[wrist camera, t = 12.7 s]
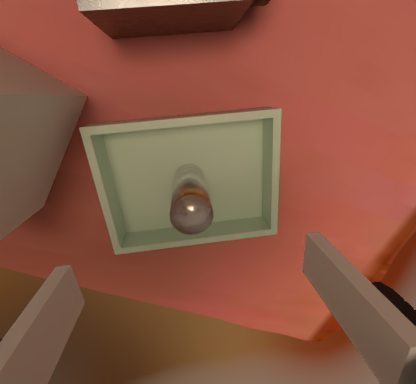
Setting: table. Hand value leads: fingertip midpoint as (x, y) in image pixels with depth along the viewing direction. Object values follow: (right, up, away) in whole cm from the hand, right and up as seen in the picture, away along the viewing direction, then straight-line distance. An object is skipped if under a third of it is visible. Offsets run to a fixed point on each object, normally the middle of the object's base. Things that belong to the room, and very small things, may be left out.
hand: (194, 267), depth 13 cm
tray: (-1, +6, +16) cm, 17 cm away
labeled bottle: (-2, +6, +15) cm, 16 cm away
